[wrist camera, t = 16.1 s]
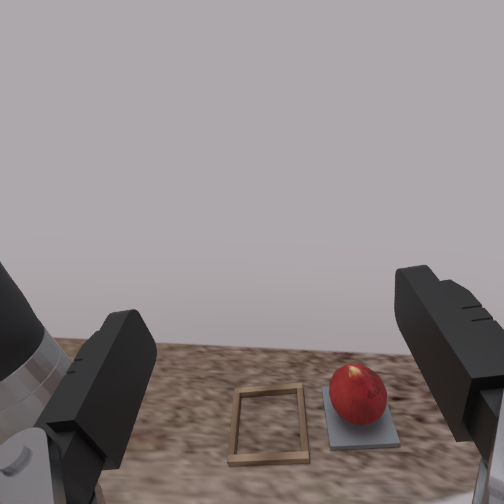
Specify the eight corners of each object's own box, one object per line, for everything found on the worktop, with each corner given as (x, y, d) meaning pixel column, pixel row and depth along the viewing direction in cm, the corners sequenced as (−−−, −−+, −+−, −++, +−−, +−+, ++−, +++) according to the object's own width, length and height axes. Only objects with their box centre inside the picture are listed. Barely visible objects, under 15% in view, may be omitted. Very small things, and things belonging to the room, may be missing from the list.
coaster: (331, 450, 34) (330, 446, 33) (322, 390, 39) (321, 386, 39) (399, 447, 32) (400, 443, 32) (380, 386, 38) (380, 382, 38)
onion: (373, 385, 38) (372, 339, 34) (396, 433, 33) (398, 387, 29) (325, 395, 38) (319, 351, 34) (341, 444, 33) (335, 400, 29)
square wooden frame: (229, 466, 34) (226, 461, 34) (236, 392, 42) (234, 388, 41) (309, 462, 33) (308, 458, 32) (303, 387, 40) (302, 382, 40)
